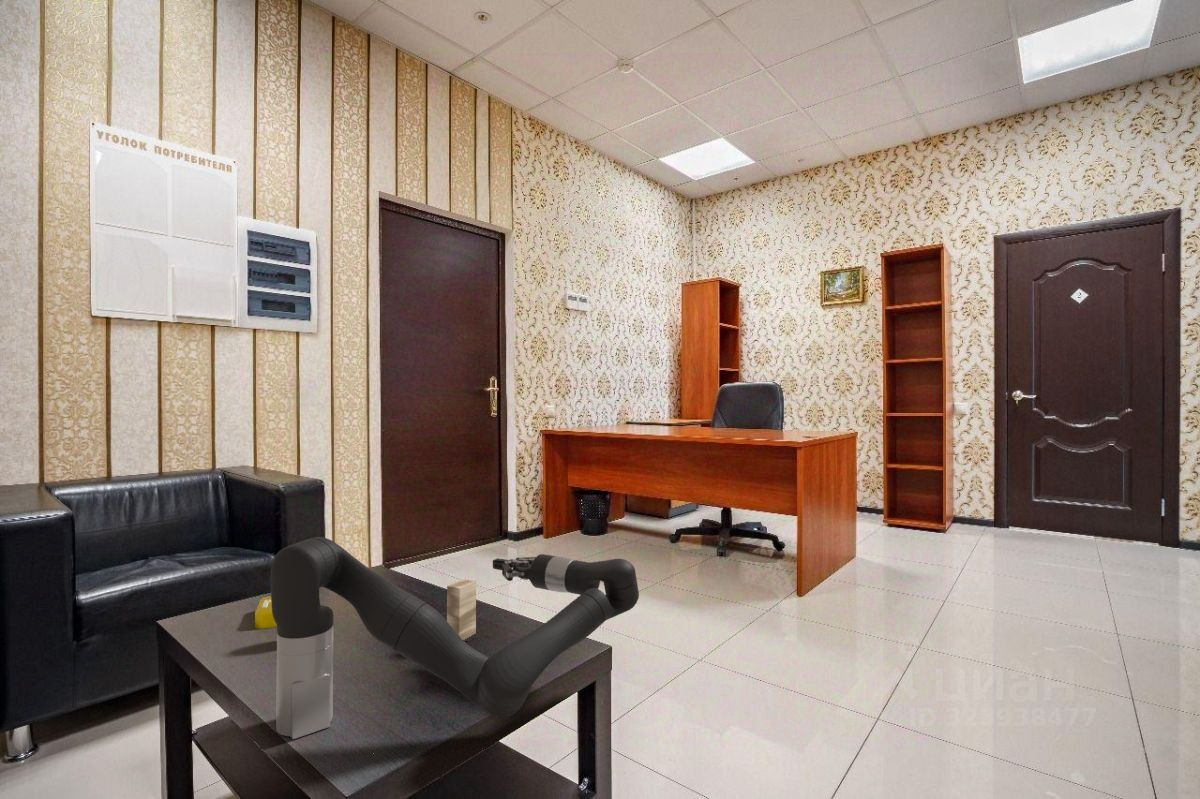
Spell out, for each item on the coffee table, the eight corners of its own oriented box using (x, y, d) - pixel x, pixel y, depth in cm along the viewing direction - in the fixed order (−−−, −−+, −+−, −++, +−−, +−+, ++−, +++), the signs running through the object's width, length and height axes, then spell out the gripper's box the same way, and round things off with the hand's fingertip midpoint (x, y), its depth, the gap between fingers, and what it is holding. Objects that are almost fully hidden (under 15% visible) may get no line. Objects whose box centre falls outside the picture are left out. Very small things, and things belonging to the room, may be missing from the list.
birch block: (475, 637, 143) (476, 581, 143) (459, 646, 138) (459, 588, 138) (463, 634, 145) (463, 579, 145) (446, 643, 140) (447, 585, 140)
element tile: (261, 612, 161) (261, 595, 161) (320, 604, 167) (320, 588, 167) (253, 631, 147) (253, 613, 147) (318, 622, 153) (318, 604, 153)
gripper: (538, 599, 123) (476, 586, 131) (570, 582, 134) (511, 571, 143) (538, 564, 123) (476, 554, 131) (570, 550, 134) (511, 541, 143)
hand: (494, 563), depth 137 cm, fingers closed
